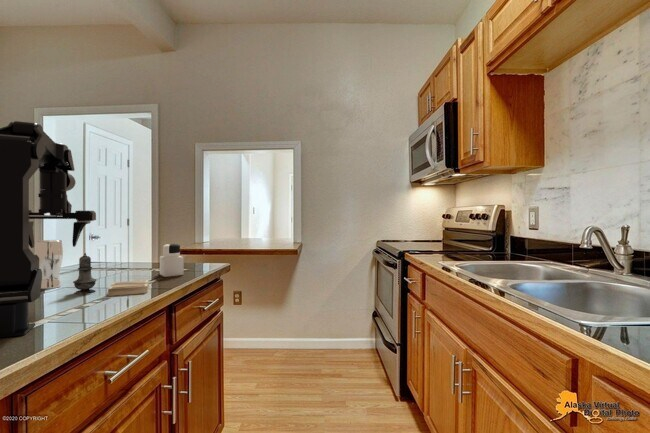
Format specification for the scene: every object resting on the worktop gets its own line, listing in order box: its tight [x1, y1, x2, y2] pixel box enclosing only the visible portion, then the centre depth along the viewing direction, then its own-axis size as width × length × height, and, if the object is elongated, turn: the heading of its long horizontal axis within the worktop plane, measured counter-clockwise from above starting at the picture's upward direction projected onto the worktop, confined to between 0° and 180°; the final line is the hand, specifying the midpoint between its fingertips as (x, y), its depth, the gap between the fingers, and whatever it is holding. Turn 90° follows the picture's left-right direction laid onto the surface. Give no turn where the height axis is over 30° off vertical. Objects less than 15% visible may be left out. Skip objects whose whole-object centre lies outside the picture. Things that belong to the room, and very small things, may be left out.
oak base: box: [107, 279, 150, 297], centre depth 103 cm, size 10×10×2 cm
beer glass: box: [34, 239, 64, 290], centre depth 107 cm, size 7×7×15 cm
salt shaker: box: [72, 252, 98, 296], centre depth 101 cm, size 6×6×12 cm
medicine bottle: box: [159, 243, 185, 278], centre depth 131 cm, size 7×7×12 cm
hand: (53, 247), depth 92 cm, fingers open, 9 cm apart
